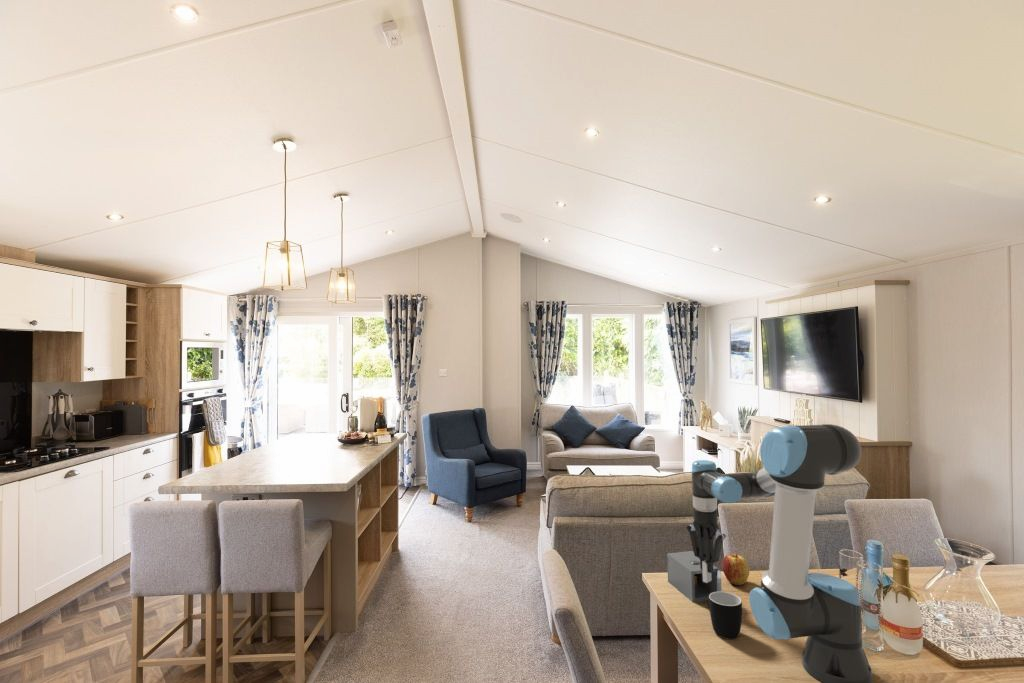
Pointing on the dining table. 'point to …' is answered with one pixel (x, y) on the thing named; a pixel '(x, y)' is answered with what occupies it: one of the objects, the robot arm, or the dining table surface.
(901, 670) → the dining table surface
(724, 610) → the mug
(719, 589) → the door
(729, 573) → the apple
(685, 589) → the case
